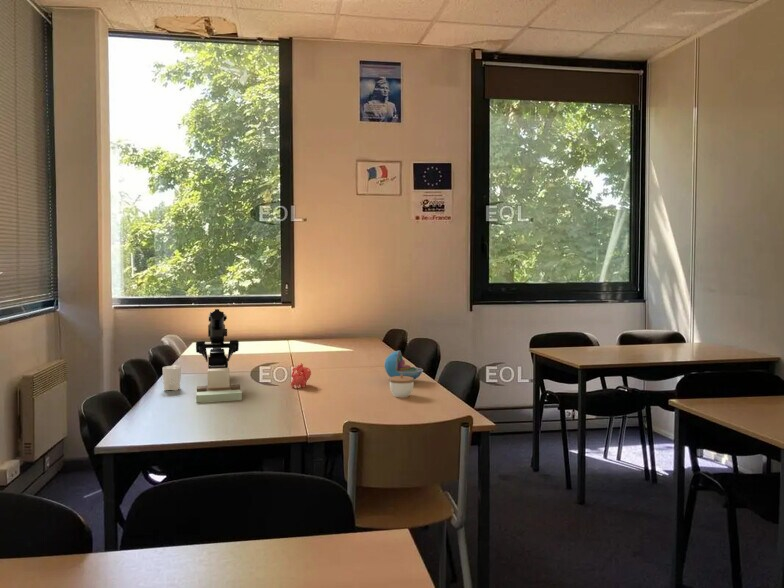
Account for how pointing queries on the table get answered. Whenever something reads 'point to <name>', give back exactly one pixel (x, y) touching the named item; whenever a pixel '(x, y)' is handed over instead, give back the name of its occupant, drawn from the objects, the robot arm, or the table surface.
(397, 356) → the educational model
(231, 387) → the strip
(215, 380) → the cream block
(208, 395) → the pad
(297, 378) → the anatomical heart
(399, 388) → the lidded jar
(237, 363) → the table surface
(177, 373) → the white cup
